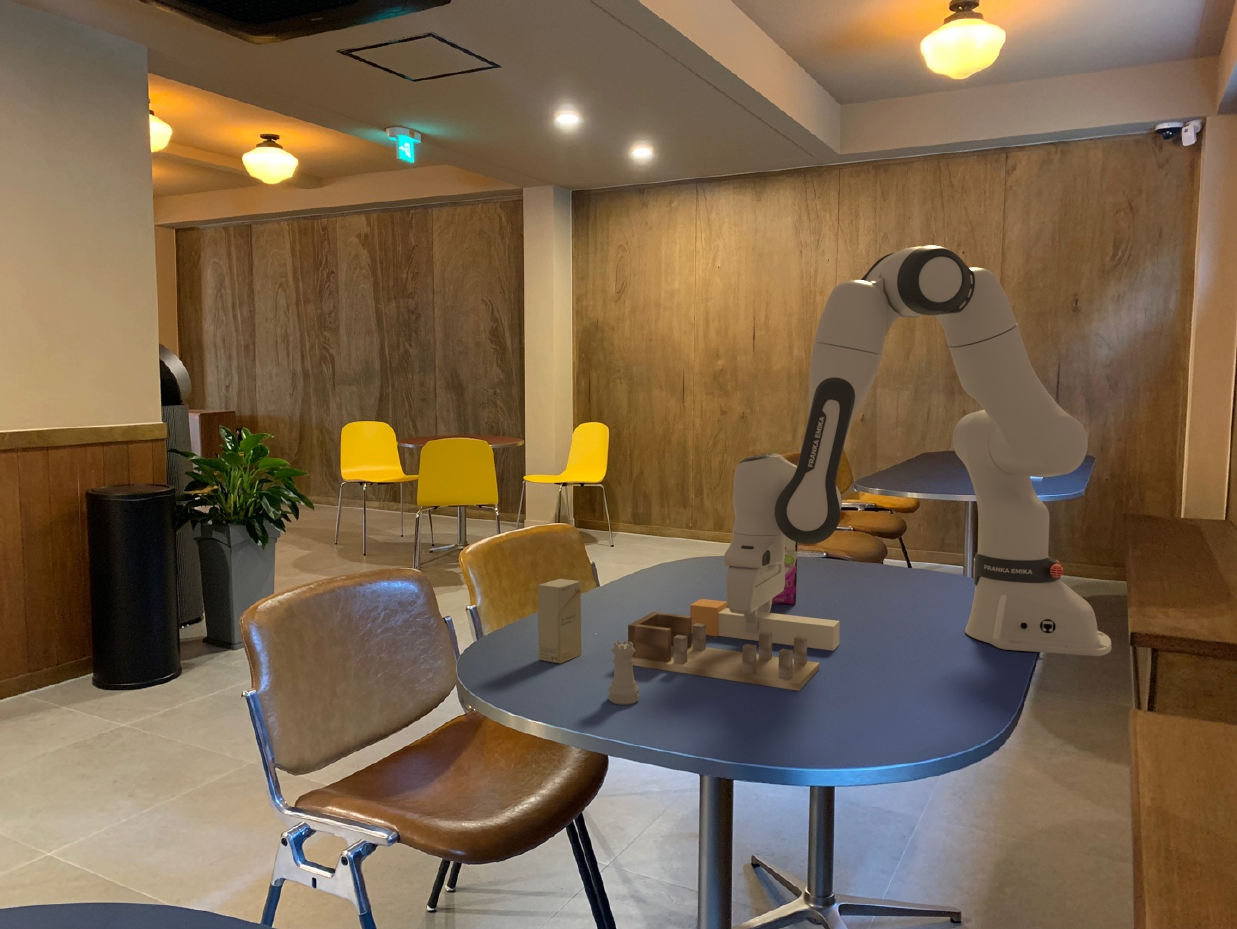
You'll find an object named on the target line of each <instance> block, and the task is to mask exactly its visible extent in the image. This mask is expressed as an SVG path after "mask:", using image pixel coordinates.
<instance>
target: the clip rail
mask: <svg viewBox="0 0 1237 929" xmlns="http://www.w3.org/2000/svg"><path fill="white" fill-rule="evenodd" d="M706 640H707V635H706V624H698V623H696V624H695V625H693V633H692V616H690V615H683V614H675V613H668V612H667V613H666V612H665V613H664V612H659V611H651V613H648V614H646V615H644V616H643V617H641V618H639V619H637V620H635V621H633V622H631V623H630V624H628V625H627V644H629V642H632V643H633V647H634V649H635V652H634V654H633V655H632V659H633V660H634V662H633V666H636V667H642V668H648V669H655V670H662V671H667V672H668V671H669V672H673V673H681V674H686V675H694V676H701V677H707V678H714V679H719V680H720V679H721V680H726V681H727V680H728V681H734V682H738V683H746V684H753V685H757V686H758V685H760V686H765V687H766V686H767V687H770V688H771V687H772V688H777V689H778V688H779V689H785V690H793V691H797V692H800V690H801V689H802V688H803V687H804V686H805V685H806V684H807V683H808V682H809V681H810V679H812V678H813V676H814V675H815V674H817V672H819V670H820V662H816V661H810V660H808V647H807V637H802V636H796V637H795V638H794V646H793V649H785V648H782V649H780V650H779V651H778V656H775V655H773V643H772V633H770V632H761V633H760V634H759V641H758V653H757V644H749V643H745V644H744V645H743V646H742V649H741V650H742V651H736V650H729V649H723V648H715V647H708V646H706V645H707V643H706V642H707V641H706Z"/></svg>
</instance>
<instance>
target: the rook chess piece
mask: <svg viewBox="0 0 1237 929" xmlns="http://www.w3.org/2000/svg"><path fill="white" fill-rule="evenodd" d="M622 642H623V643H622ZM611 651H612V653H613V654H614V657H615V658H614V659H613V663H614V673H613V678H612V681H611V683H610V686H608V690H607V692H608V693H609V694H608V695H607V698H608V700H609V701H610V703H612V704H614V705H617V706H618V705H619V706H629V705H633V704H636V703H638V701H639V700H640V697H641V696H640V694H639V692H640V687H639V685H638V684H637V682H636V681H635V674H634V671H633V670H634V669H633V666H634V665H633V662H634V660H633V659H632V655H633V654H634V652H635V649H634V647H633V643H632V642H629V644H628V640H623V641H620V640H619V641H618V640H617V641H616V642H614V644H613V648H612V649H611Z"/></svg>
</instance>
